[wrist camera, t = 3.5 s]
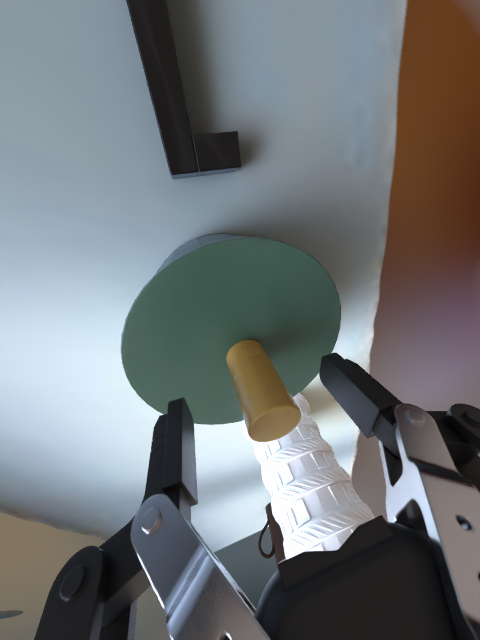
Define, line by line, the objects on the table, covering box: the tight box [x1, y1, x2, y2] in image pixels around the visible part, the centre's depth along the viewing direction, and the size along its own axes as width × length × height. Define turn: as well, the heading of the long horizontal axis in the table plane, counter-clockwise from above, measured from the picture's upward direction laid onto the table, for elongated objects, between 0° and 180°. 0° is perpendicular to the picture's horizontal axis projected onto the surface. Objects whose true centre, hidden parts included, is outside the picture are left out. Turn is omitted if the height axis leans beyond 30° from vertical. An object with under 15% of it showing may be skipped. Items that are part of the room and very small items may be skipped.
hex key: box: [126, 0, 241, 179], centre depth 11 cm, size 8×5×2 cm, turn 7°
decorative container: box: [242, 393, 374, 559], centre depth 24 cm, size 12×12×18 cm
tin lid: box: [121, 237, 341, 442], centre depth 11 cm, size 15×15×6 cm
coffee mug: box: [259, 503, 287, 565], centre depth 49 cm, size 12×9×10 cm
